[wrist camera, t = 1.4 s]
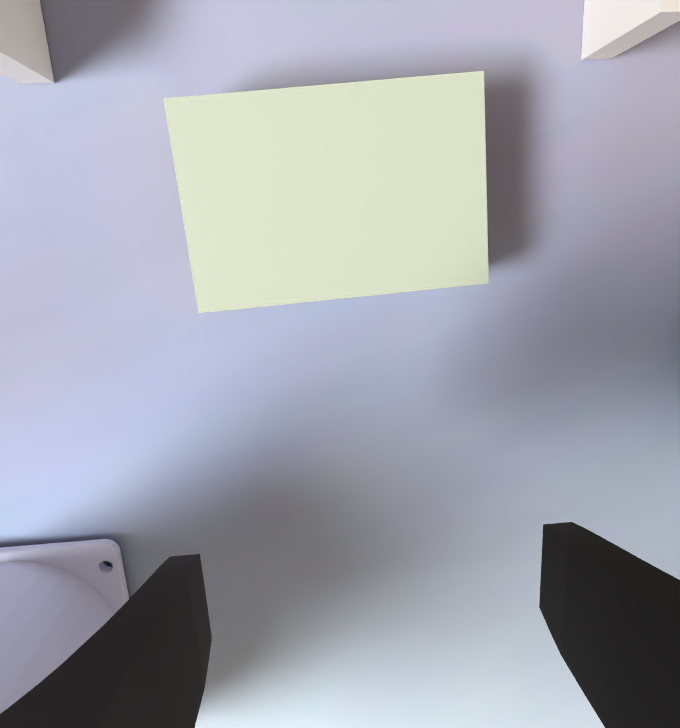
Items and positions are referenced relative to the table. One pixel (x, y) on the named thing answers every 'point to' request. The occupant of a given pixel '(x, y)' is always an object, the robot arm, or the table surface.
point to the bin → (600, 38)
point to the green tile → (332, 189)
